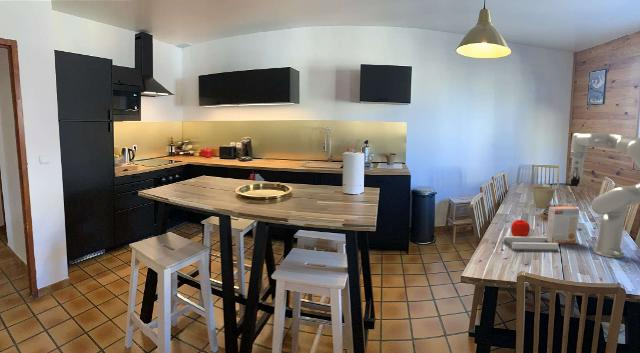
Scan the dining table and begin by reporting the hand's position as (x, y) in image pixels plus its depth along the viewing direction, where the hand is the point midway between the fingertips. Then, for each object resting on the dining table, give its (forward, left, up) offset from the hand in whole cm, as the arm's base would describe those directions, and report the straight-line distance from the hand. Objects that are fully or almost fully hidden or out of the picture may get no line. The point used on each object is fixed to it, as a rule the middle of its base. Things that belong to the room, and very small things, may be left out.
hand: (574, 184), depth 204 cm
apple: (0, +28, -34) cm, 44 cm away
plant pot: (+79, -31, -34) cm, 92 cm away
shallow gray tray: (-12, +29, -33) cm, 46 cm away
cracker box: (-4, +7, -34) cm, 35 cm away
